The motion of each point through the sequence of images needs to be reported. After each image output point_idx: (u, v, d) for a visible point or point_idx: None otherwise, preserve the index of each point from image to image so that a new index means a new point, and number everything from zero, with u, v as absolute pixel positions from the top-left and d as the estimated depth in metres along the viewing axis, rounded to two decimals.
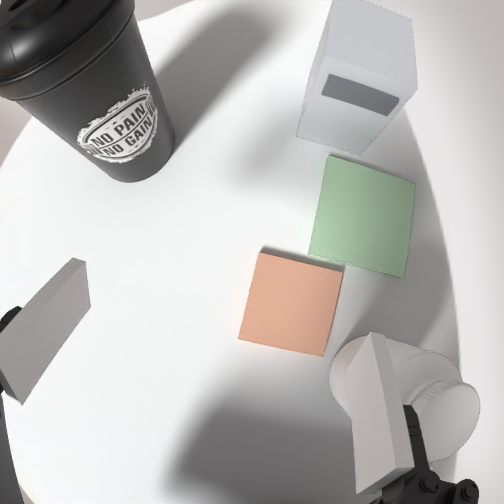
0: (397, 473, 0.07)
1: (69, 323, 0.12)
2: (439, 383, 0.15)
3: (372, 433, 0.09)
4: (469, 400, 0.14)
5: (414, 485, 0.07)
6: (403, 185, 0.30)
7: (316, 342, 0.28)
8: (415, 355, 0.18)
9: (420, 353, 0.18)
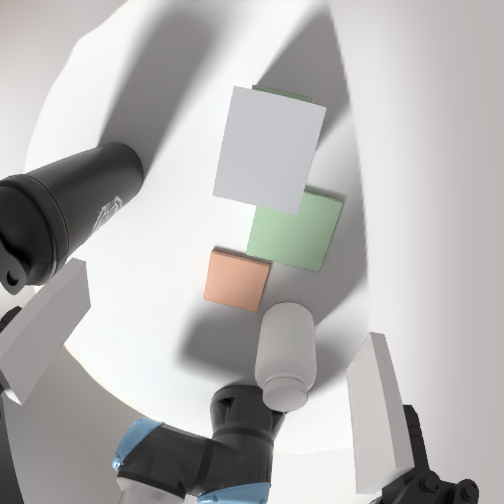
0: (397, 473, 0.07)
1: (69, 323, 0.12)
2: (281, 379, 0.34)
3: (372, 433, 0.09)
4: (296, 394, 0.33)
5: (414, 485, 0.07)
6: (330, 204, 0.37)
7: (251, 304, 0.45)
8: (281, 354, 0.36)
9: (285, 353, 0.36)
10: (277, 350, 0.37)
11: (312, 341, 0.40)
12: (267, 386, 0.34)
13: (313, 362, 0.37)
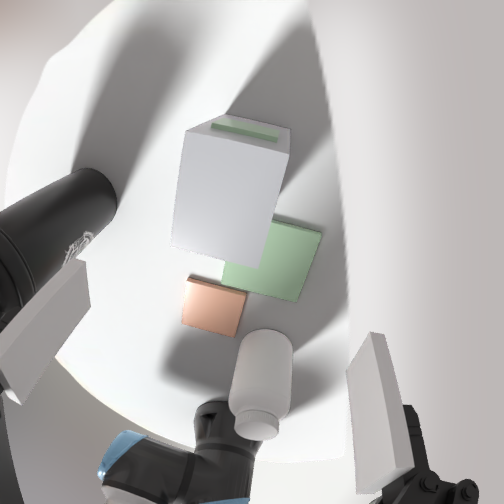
0: (397, 473, 0.07)
1: (69, 322, 0.12)
2: (252, 413, 0.33)
3: (372, 433, 0.09)
4: (267, 427, 0.33)
5: (414, 485, 0.07)
6: (308, 237, 0.36)
7: (229, 330, 0.44)
8: (253, 387, 0.35)
9: (257, 387, 0.35)
10: (249, 383, 0.36)
11: (287, 372, 0.39)
12: (238, 418, 0.34)
13: (286, 395, 0.36)
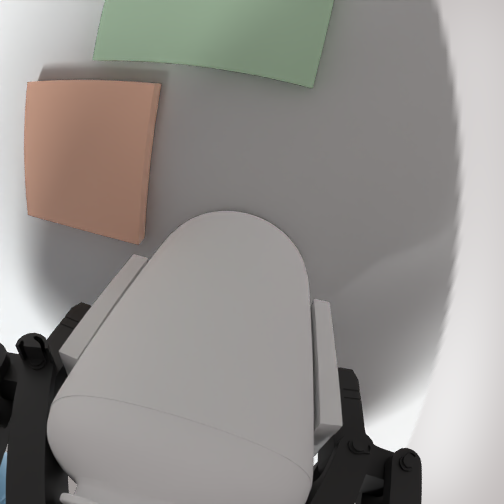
0: (326, 431, 0.09)
1: None
2: None
3: None
4: None
5: (342, 449, 0.08)
6: None
7: (122, 220, 0.15)
8: (104, 394, 0.06)
9: (120, 397, 0.05)
10: (99, 370, 0.06)
11: (298, 336, 0.10)
12: None
13: (295, 445, 0.06)
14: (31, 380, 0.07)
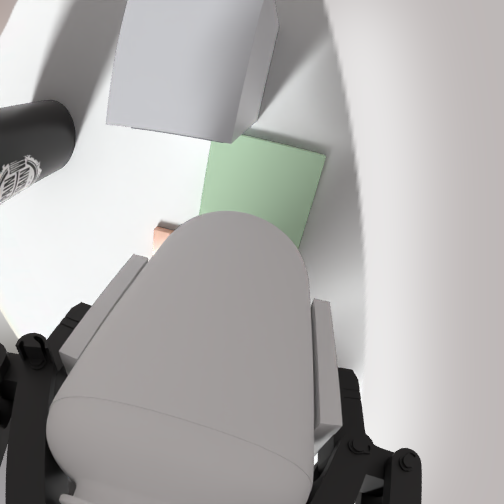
0: (326, 431, 0.09)
1: None
2: None
3: None
4: None
5: (342, 449, 0.08)
6: (308, 158, 0.26)
7: None
8: (104, 395, 0.05)
9: (120, 398, 0.05)
10: (98, 371, 0.06)
11: (298, 337, 0.09)
12: None
13: (296, 447, 0.06)
14: (31, 380, 0.07)
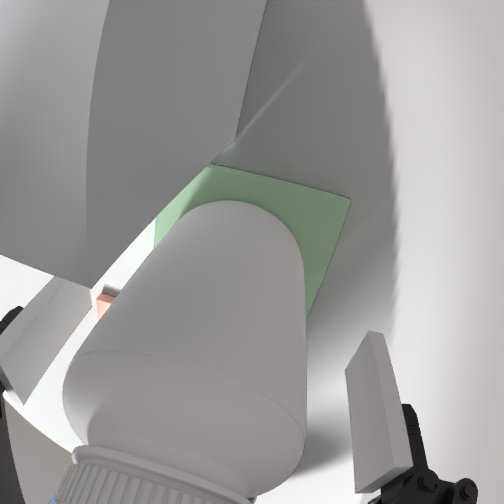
0: (396, 472, 0.07)
1: (70, 322, 0.12)
2: (99, 477, 0.05)
3: (371, 432, 0.09)
4: None
5: (413, 484, 0.07)
6: (321, 206, 0.16)
7: None
8: (121, 347, 0.07)
9: (136, 347, 0.07)
10: (116, 329, 0.08)
11: (291, 307, 0.11)
12: None
13: (288, 397, 0.07)
14: None
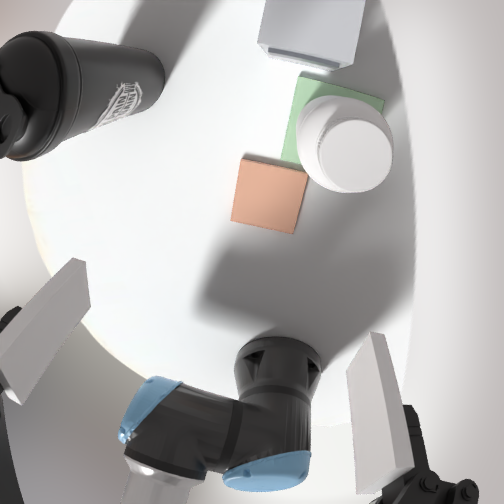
0: (397, 473, 0.07)
1: (69, 323, 0.12)
2: (346, 117, 0.20)
3: (372, 433, 0.09)
4: (376, 138, 0.19)
5: (414, 485, 0.07)
6: (372, 101, 0.30)
7: (287, 224, 0.39)
8: (337, 98, 0.22)
9: (343, 97, 0.21)
10: (330, 98, 0.22)
11: None
12: (324, 132, 0.20)
13: None
14: None
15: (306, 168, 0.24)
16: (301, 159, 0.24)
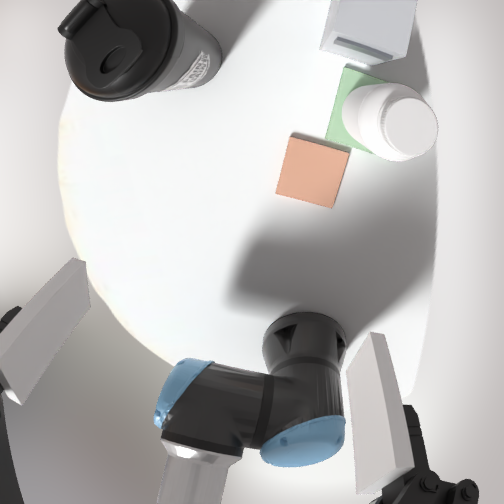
0: (397, 473, 0.07)
1: (69, 323, 0.12)
2: (403, 96, 0.22)
3: (372, 433, 0.09)
4: (426, 114, 0.22)
5: (414, 485, 0.07)
6: None
7: (327, 198, 0.42)
8: (391, 83, 0.24)
9: (395, 83, 0.24)
10: (384, 83, 0.25)
11: None
12: (387, 106, 0.23)
13: None
14: None
15: (366, 137, 0.27)
16: (362, 130, 0.27)
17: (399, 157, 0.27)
